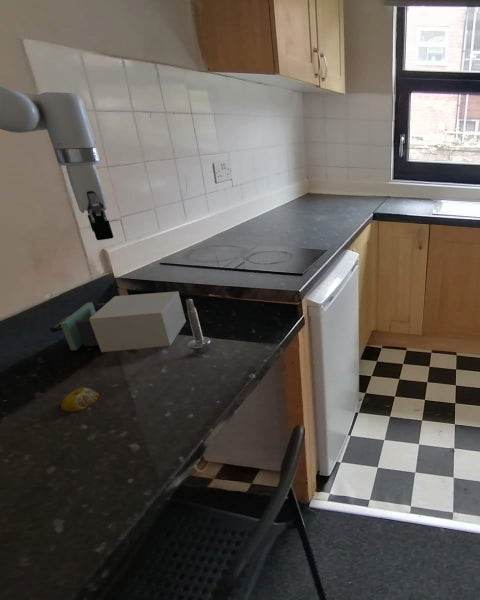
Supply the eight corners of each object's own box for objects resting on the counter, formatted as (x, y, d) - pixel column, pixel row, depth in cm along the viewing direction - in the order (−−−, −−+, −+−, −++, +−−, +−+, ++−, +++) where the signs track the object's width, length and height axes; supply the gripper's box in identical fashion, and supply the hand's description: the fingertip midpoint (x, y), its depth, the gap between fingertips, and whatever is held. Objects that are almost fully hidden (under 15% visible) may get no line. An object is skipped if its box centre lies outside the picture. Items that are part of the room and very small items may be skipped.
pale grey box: (101, 352, 91) (88, 318, 88) (125, 326, 103) (114, 296, 99) (170, 345, 94) (161, 312, 90) (186, 321, 105) (178, 291, 102)
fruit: (106, 420, 71) (99, 403, 69) (52, 426, 69) (44, 409, 68) (125, 391, 78) (120, 375, 76) (77, 397, 77) (70, 381, 75)
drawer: (49, 352, 90) (37, 325, 87) (76, 328, 100) (67, 304, 97) (136, 344, 93) (127, 318, 90) (154, 322, 103) (147, 297, 100)
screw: (214, 352, 91) (190, 358, 89) (211, 343, 95) (188, 348, 93) (202, 300, 86) (176, 305, 83) (199, 292, 89) (175, 296, 87)
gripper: (55, 155, 90) (80, 230, 97) (57, 160, 78) (86, 245, 85) (96, 153, 95) (117, 225, 102) (103, 158, 83) (127, 239, 90)
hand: (103, 234), depth 93 cm, fingers open, 9 cm apart
